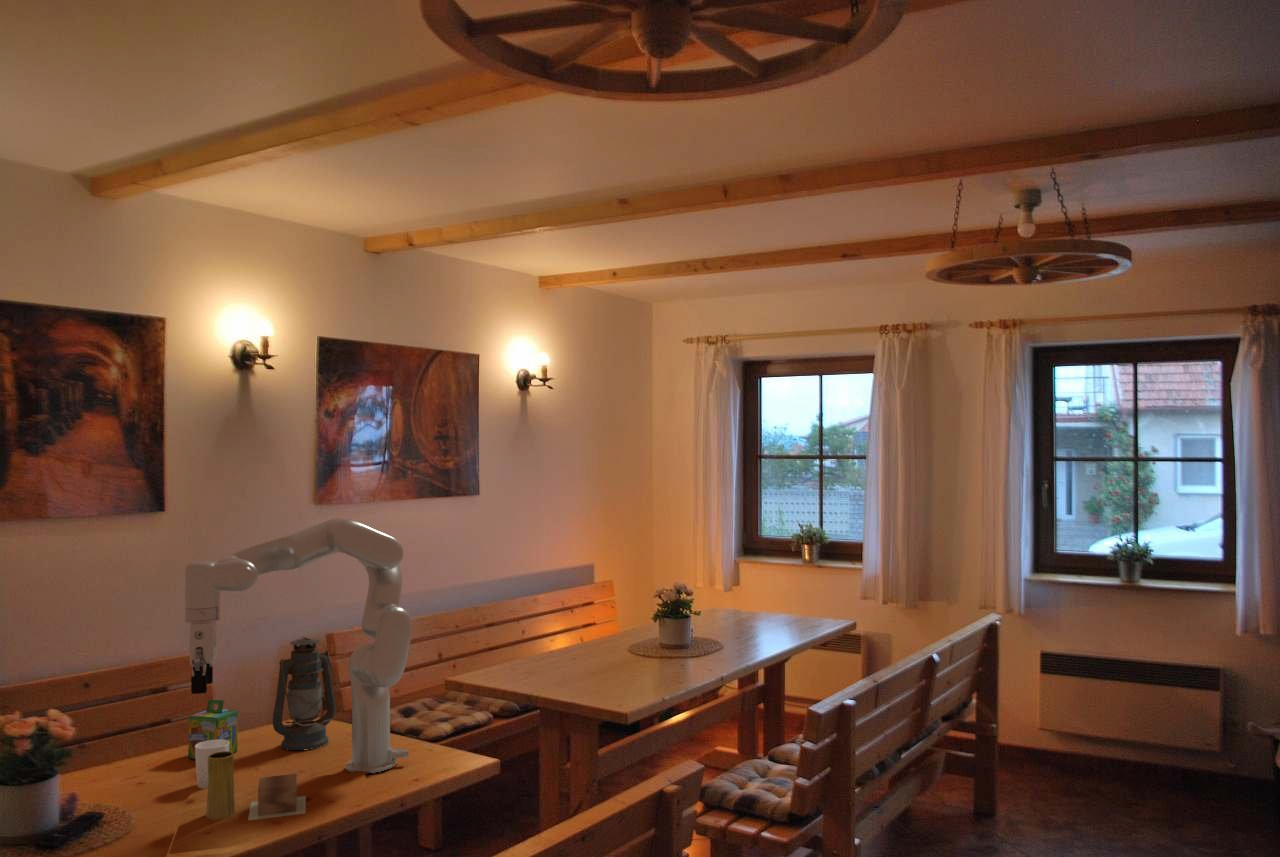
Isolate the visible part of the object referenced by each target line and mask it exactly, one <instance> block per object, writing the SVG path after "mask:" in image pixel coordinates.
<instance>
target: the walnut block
mask: <svg viewBox="0 0 1280 857" xmlns="http://www.w3.org/2000/svg"><path fill="white" fill-rule="evenodd" d="M297 778H298V775H297V773H293V774H292V773H291V774H281V775H273V776H272V775H271V776H264V777H259V781H258V786H257V788H258V789H257V801H258V816H262V815H270V814H278V813H287V812H295V811H296V805H297V797H298V796H297V795H298V794H297V791H298V789H297V786H298V784H297V781H298V780H297Z"/></svg>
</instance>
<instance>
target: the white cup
mask: <svg viewBox="0 0 1280 857" xmlns="http://www.w3.org/2000/svg"><path fill="white" fill-rule="evenodd" d="M229 743H230V742H229V741H228V740H222V739H217V740H208V741H204V742H200V743H198V744H196V745H195V759H194V760H195V770H196V772H195V774H196V784H197V787H198V788H199V789H204V790H208V756H209V755H210V754H212V753H216V752H222V751H229Z"/></svg>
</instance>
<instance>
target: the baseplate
mask: <svg viewBox="0 0 1280 857" xmlns="http://www.w3.org/2000/svg"><path fill="white" fill-rule="evenodd" d="M306 798H307V796H306V795H302V796H301V795H299V796H297V805H296V811H295V812H287V813H278V814H270V815H262V816H258V800H256V801H251V802H250V805H249V811H248V812H249V813H248V818H247V821H253V820H254V821H255V820H264V819H271V818H279V817H288V816H295V815H303V814H306V812H307V811H306V810H307V808H306V807H307V806H306V804H307V802H306V801H307V799H306Z"/></svg>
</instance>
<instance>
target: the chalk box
mask: <svg viewBox="0 0 1280 857" xmlns="http://www.w3.org/2000/svg"><path fill="white" fill-rule="evenodd" d="M214 705H217V706H218V707H217V708H213V707H212V706H214ZM206 706H207V707H206V709H205V710H202V711H200V712H196V713H194V714H192V715H189V717H188V750H187V752H188V754H187V759H189V760H195V745H196V744H198V743H200V742H204V741H208V740H217V739H222V740H228V741H229V742H230V743H229V752H232V753H233V754H235V753H237V752H238V730H239V729H238V726H239V722H238V721H239V717H238V716H239V711H238V709H229V708H224V700H223V699H208V701H207V705H206ZM236 751H237V752H236ZM234 752H235V753H234Z"/></svg>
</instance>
